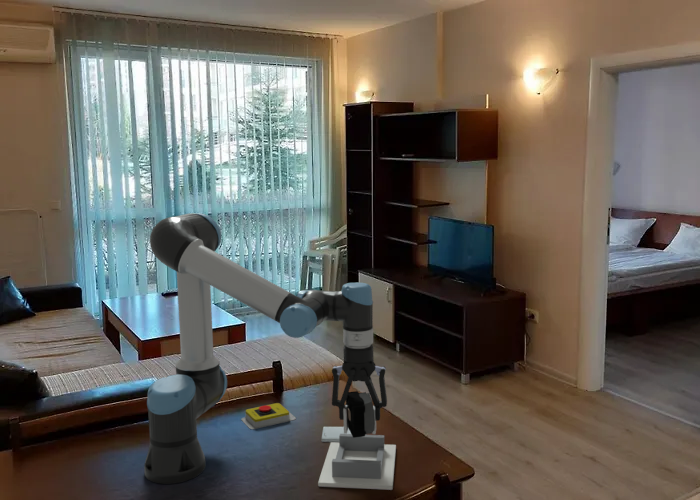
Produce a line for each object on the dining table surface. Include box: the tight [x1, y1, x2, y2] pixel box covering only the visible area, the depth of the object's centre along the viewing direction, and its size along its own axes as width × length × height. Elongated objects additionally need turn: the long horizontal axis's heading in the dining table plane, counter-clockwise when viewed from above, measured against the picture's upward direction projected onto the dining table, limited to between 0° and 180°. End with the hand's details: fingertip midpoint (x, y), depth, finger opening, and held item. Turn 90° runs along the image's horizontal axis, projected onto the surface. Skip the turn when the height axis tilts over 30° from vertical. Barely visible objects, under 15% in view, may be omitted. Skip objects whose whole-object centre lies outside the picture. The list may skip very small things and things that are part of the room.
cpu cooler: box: [345, 390, 375, 438], centre depth 162 cm, size 10×6×10 cm, turn 12°
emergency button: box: [240, 402, 297, 430], centre depth 194 cm, size 9×4×15 cm
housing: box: [317, 434, 397, 491], centre depth 163 cm, size 18×22×5 cm
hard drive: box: [321, 426, 367, 443], centre depth 182 cm, size 2×8×12 cm
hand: (360, 431), depth 162 cm, fingers closed on cpu cooler, 7 cm apart
